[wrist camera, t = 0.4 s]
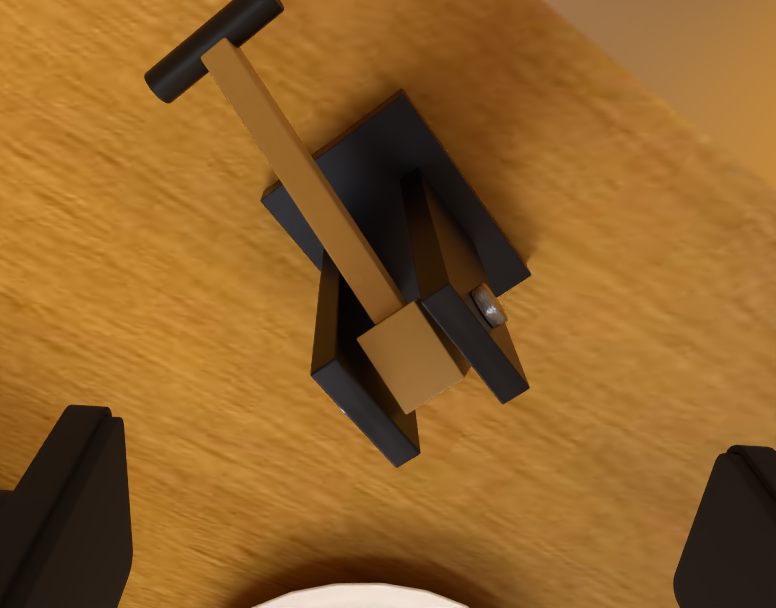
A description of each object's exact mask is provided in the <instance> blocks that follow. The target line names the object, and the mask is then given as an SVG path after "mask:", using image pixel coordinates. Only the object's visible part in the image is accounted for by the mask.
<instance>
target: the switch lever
mask: <svg viewBox="0 0 776 608" xmlns="http://www.w3.org/2000/svg"><path fill="white" fill-rule="evenodd" d="M283 11H284V7H283V4H282V3H281V1H280V0H232V1H231V2H230V3H229V4H228V5H226V6H225V7H224V8H223V9H222V10H220V11H219V12H218V13H217V14H216V15H214V16H213V17H212V18H211V19H210V20H208V21H207V22H206V23H205V24H204V25H202V26H201V27H200V28H199V29H198V30H196V31H195V32H194V33H193V34H192V35H190V36H189V37H188V38H187V39H186V40H185V41H183V42H182V43H181V44H180V45H179V46H177V47H176V48H175V49H174V50H173V51H171V52H170V53H169V54H168V55H167V56H165V57H164V58H163V59H162V60H161V61H159V62H158V63H157V64H156V65H155V66H153V67H152V68H151V69H150V70H149V71H147V72H146V73H145V75H144V78H145V81H146V83H147V84H148V86H149V88H150V89H151V90H152V92H153V93H154V94H155V95H156V96H157V97H158V98H159V99H161V100H162V101H163V102H165V103H171V102H173V101H174V100H175V99H176V98H178V97H179V96H180V95H181V94H182V93H184V92H185V91H186V90H187V89H189V88H190V87H191V86H192V85H194V84H195V83H196V82H197V81H198V80H200V79H201V78H202V77H203V76H205V75H206V74H207V73H208V72H210V74H211V75H212V77H213V78H214V80H215V82H216V83H217V85H218V86H219V88H220V89H221V91H222V92H223V94H224V95H225V97H226V98H227V100H228V101H229V103H230V104H231V106H232V107H233V109H234V111H235V112H236V114H237V115H238V117H239V118H240V120H241V121H242V123H243V124H244V126H245V127H246V129H247V130H248V132H249V133H250V135H251V136H252V138H253V140H254V141H255V143H256V144H257V146H258V147H259V149H260V150H261V152H262V153H263V155H264V156H265V158H266V159H267V161H268V162H269V164H270V165H271V167H272V169H273V170H274V172H275V173H276V175H277V176H278V178H279V179H280V181H281V182H282V184H283V185H284V187H285V188H286V190H287V191H288V193H289V194H290V196H291V198H292V199H293V201H294V202H295V204H296V205H297V207H298V208H299V210H300V211H301V213H302V214H303V216H304V217H305V219H306V220H307V222H308V223H309V225H310V227H311V228H312V230H313V231H314V233H315V234H316V236H317V237H318V239H319V240H320V242H321V243H322V245H323V246H324V248H325V249H326V251H327V252H328V254H329V256H330V257H331V259H332V260H333V262H334V263H335V265H336V266H337V268H338V269H339V271H340V272H341V274H342V275H343V277H344V278H345V280H346V281H347V283H348V285H349V286H350V288H351V289H352V291H353V292H354V294H355V295H356V297H357V298H358V300H359V301H360V303H361V304H362V306H363V307H364V309H365V310H366V312H367V314H368V315H369V317H370V318H371V320H372V321H373V323H374V324H375V325H376V326H375V327H373V328H372V329H370V330H369V331H367V332H366V333H364V334H363V335H361V336H359V337H358V338H357V341H358V342H359V344H360V345H361V347H362V349H363V350H364V352H365V353H366V355H367V356H368V358H369V359H370V361H371V362H372V364H373V365H374V367H375V368H376V370H377V372H378V373H379V375H380V376H381V378H382V379H383V381H384V382H385V384H386V385H387V387H388V388H389V390H390V391H391V393H392V394H393V396H394V398H395V399H396V401H397V402H398V404H399V405H400V407H401V408H402V410H403V411H404V413H405V414H408V413H410V412H412V411H413V410H415V409H416V408H418V407H420V406H421V405H423V404H424V403H426V402H428V401H429V400H431V399H432V398H434V397H436V396H437V395H439V394H441V393H442V392H444V391H445V390H447V389H449V388H450V387H452V386H453V385H455V384H457V383H458V382H460V381H462V380H463V379H464V378H465V377H466V375H467V373H468V371H469V369H470V368H471V365H470V363H469V362H468V361H467V360H466V358H465V357H464V356H463V355H462V353H461V352H460V351H459V350H458V348H457V347H456V346H455V345H454V343H453V342H452V341H451V340H450V338H449V337H448V336H447V335H446V333H445V332H444V331H443V330H442V328H441V327H440V326H439V325H438V323H437V322H436V321H435V320H434V318H433V317H432V316H431V315H430V313H429V312H428V311H427V310H426V308H425V307H424V306H423V305H422V303H421V300H420V298H418V299H416V300H414V301H412V302H411V303H409V304H408V302H407V301H406V299H405V298H404V296H403V295H402V293H401V292H400V290H399V289H398V287H397V286H396V284H395V283H394V281H393V280H392V278H391V276H390V275H389V273H388V272H387V270H386V269H385V267H384V266H383V264H382V263H381V261H380V260H379V258H378V257H377V255H376V254H375V252H374V251H373V249H372V248H371V246H370V245H369V243H368V242H367V240H366V238H365V237H364V235H363V234H362V232H361V231H360V229H359V228H358V226H357V225H356V223H355V222H354V220H353V219H352V217H351V216H350V214H349V213H348V211H347V210H346V208H345V207H344V205H343V203H342V202H341V200H340V199H339V197H338V196H337V194H336V193H335V191H334V190H333V188H332V187H331V185H330V184H329V182H328V181H327V179H326V178H325V176H324V175H323V173H322V172H321V170H320V169H319V167H318V165H317V164H316V162H315V161H314V159H313V158H312V156H311V155H310V153H309V152H308V150H307V149H306V147H305V146H304V144H303V143H302V141H301V140H300V138H299V137H298V135H297V134H296V132H295V131H294V129H293V127H292V126H291V124H290V123H289V121H288V120H287V118H286V117H285V115H284V114H283V112H282V111H281V109H280V108H279V106H278V105H277V103H276V102H275V100H274V99H273V97H272V96H271V94H270V92H269V91H268V89H267V88H266V86H265V85H264V83H263V82H262V80H261V79H260V77H259V76H258V74H257V73H256V71H255V70H254V68H253V67H252V65H251V64H250V62H249V61H248V59H247V58H246V56H245V54H244V53H243V51H242V50H241V48H240V46H241V45H243V44H244V43H245V42H246V41H247V40H249V39H250V38H251V37H252V36H254V35H255V34H256V33H257V32H259V31H260V30H261V29H262V28H263V27H265V26H266V25H267V24H268V23H270V22H271V21H272V20H273V19H274V18H276V17H277V16H278V15H279V14H281V13H282V12H283Z"/></svg>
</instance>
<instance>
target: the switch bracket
mask: <svg viewBox="0 0 776 608" xmlns="http://www.w3.org/2000/svg"><path fill="white" fill-rule="evenodd" d="M312 158H313V159H314V161H315V162H316V164H317V165H318V167H319V169H320V170H321V172H322V173H323V175H324V176H325V178H326V179H327V181H328V182H329V184H330V185H331V187H332V188H333V190H334V191H335V193H336V194H337V196H338V197H339V199H340V200H341V202H342V203H343V205H344V207H345V208H346V210H347V211H348V213H349V214H350V216H351V217H352V219H353V220H354V222H355V223H356V225H357V226H358V228H359V229H360V231H361V232H362V234H363V235H364V237H365V238H366V240H367V242H368V243H369V245H370V246H371V248H372V249H373V251H374V252H375V254H376V255H377V257H378V258H379V260H380V261H381V263H382V264H383V266H384V267H385V269H386V270H387V272H388V273H389V275H390V276H391V278H392V280H393V281H394V283H395V284H396V286H397V287H398V289H399V290H400V292H401V293H402V295H403V296H404V298H405V299H406V301H407V302H408V304H409V303H411V302H412V301H414V300H416V299H418V298H420V300H421V303H422V305H423V306H424V307H425V308H426V310H427V311H428V312H429V313H430V315H431V316H432V317H433V318H434V320H435V321H436V322H437V323H438V325H439V326H440V327H441V328H442V330H443V331H444V332H445V333H446V335H447V336H448V337H449V338H450V340H451V341H452V342H453V343H454V345H455V346H456V347H457V348H458V350H459V351H460V352H461V353H462V355H463V356H464V357H465V358H466V360H467V361H468V362H469V363H470V365H471V366H472V367H473V368H474V370H475V371H476V372H477V373H478V375H479V376H480V377H481V379H482V380H483V381H484V382H485V384H486V385H487V386H488V387H489V389H490V390H491V391H492V392H493V394H494V395H495V396H496V397H497V399H498V400H499V401H500V402H501V404H505V403H506V402H508V401H510V400H511V399H513V398H515V397H516V396H518V395H520V394H521V393H523V392H525V391H526V390H528V389H529V388H530V387H529V384H528V382H527V379H526V377H525V374H524V371H523V369H522V366H521V364H520V361H519V358H518V356H517V353H516V351H515V348H514V345H513V343H512V340H511V337H510V335H509V332H508V330H507V327H506V324H505V322H506V321H507V320H508V319H507V315H506V313H505V311H504V309H503V308H502V306H501V304H500V303H499V301H498V300H497V297H498V296H500V295H502V294H503V293H505V292H506V291H508V290H509V289H511V288H512V287H514V286H516V285H517V284H519V283H520V282H522V281H523V280H525V279H526V278H528V277H530V276H531V273H530V271H529V269H528V267H527V265H526V264H525V262H524V261H523V259H522V258H521V257H520V255H519V254H518V252H517V251H516V249H515V248H514V247H513V245H512V244H511V242H510V241H509V240H508V238H507V237H506V235H505V234H504V232H503V231H502V230H501V228H500V227H499V225H498V224H497V222H496V221H495V220H494V218H493V217H492V215H491V214H490V212H489V211H488V210H487V208H486V207H485V205H484V204H483V203H482V201H481V200H480V198H479V197H478V195H477V194H476V193H475V191H474V190H473V188H472V187H471V185H470V184H469V183H468V181H467V180H466V178H465V177H464V175H463V174H462V173H461V171H460V170H459V168H458V167H457V166H456V164H455V163H454V161H453V160H452V158H451V157H450V156H449V154H448V153H447V151H446V150H445V148H444V147H443V146H442V144H441V143H440V141H439V140H438V138H437V137H436V136H435V134H434V133H433V131H432V130H431V128H430V127H429V126H428V124H427V123H426V121H425V120H424V119H423V117H422V116H421V114H420V113H419V111H418V110H417V109H416V107H415V106H414V104H413V103H412V101H411V100H410V99H409V97H408V96H407V94H406V93H405V91H404V90H403V89H400V90H399V91H398V92H396V93H395V94H394V95H392V96H391V97H390V98H388V99H387V100H386V101H384V102H383V103H382V104H380V105H379V106H378V107H376V108H375V109H374V110H372V111H371V112H370V113H368V114H367V115H366V116H364V117H363V118H362V119H360V120H359V121H358V122H356V123H355V124H354V125H352V126H351V127H350V128H348V129H347V130H346V131H344V132H343V133H342V134H340V135H339V136H338V137H336V138H335V139H334V140H332V141H331V142H330V143H328V144H327V145H326V146H324V147H323V148H321V149H320V150H319V151H317V152H316V153H315V154H313V155H312ZM261 202H262V203H263V204H264V206H265V207H266V208H267V209H268V210H269V211H270V213H271V214H272V215H273V216H274V217H275V219H276V220H277V221H278V222H279V223H280V224H281V226H282V227H283V228H284V229H285V230H286V231H287V233H288V234H289V235H290V236H291V237H292V239H293V240H294V241H295V242H296V243H297V244H298V246H299V247H300V248H301V249H302V250H303V251H304V253H305V254H306V255H307V256H308V257H309V258H310V260H311V261H312V262H313V263H314V264H315V266H316V267H317V268H318V269H319V270H320V271H321V277H320V286H319V296H318V306H317V315H316V325H315V335H314V344H313V354H312V364H311V373H310V374H311V377H312V378H313V379H314V380H315V381H316V382H317V383H318V384H319V385H320V386H321V388H322V389H323V390H324V391H325V392H326V393H327V394H328V395H329V396H330V397H331V398H332V399H333V400H334V402H335V403H336V404H337V405H338V407H339V408H340V409H341V411H342V412H343V413H344V414H345V415H347V416H348V417H349V418H350V419H351V420H352V421H353V422H354V423H355V424H356V425H357V426H358V427H359V429H360V430H361V431H362V432H363V433H364V434H365V435H366V436H367V437H368V438H369V439H370V440H371V442H372V443H373V444H374V445H375V446H376V447H377V448H378V449H379V450H380V451H381V452H382V453H383V454H384V456H385V457H386V458H387V459H388V460H389V461H390V462H391V463H392V464H393V465H394V466H395V467H396V468H397V467H399V466H401V465H402V464H404V463H406V462H407V461H409V460H411V459H412V458H414V457H416V456H417V455H419V454H420V444H419V436H418V428H417V420H416V412H415V410H413V411H412V412H410V413H408V414H405V413H404V411H403V410H402V408H401V407H400V405H399V404H398V402H397V401H396V399H395V398H394V396H393V394H392V393H391V391H390V390H389V388H388V387H387V385H386V384H385V382H384V381H383V379H382V378H381V376H380V375H379V373H378V372H377V370H376V368H375V367H374V365H373V364H372V362H371V361H370V359H369V358H368V356H367V355H366V353H365V352H364V350H363V349H362V347H361V345H360V344H359V342H358V341H357V338H358V337H359V336H361V335H363V334H364V333H366V332H367V331H369V330H370V329H372V328H373V327H375V326H376V325H375V324H374V323H373V321H372V320H371V318H370V317H369V315H368V314H367V312H366V310H365V309H364V307H363V306H362V304H361V303H360V301H359V300H358V298H357V297H356V295H355V294H354V292H353V291H352V289H351V288H350V286H349V285H348V283H347V281H346V280H345V278H344V277H343V275H342V274H341V272H340V271H339V269H338V268H337V266H336V265H335V263H334V262H333V260H332V259H331V257H330V256H329V254H328V252H327V251H326V249H325V248H324V246H323V245H322V243H321V242H320V240H319V239H318V237H317V236H316V234H315V233H314V231H313V230H312V228H311V227H310V225H309V223H308V222H307V220H306V219H305V217H304V216H303V214H302V213H301V211H300V210H299V208H298V207H297V205H296V204H295V202H294V201H293V199H292V198H291V196H290V194H289V193H288V191H287V190H286V188H285V187H284V185H283V184H282V182H281V181H280V180H279V181H277V182H276V183H275V184H273V185H272V186H271V187H269V188H268V189H267V190H265V191H264V192H263V195H262V198H261Z"/></svg>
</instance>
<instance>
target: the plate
mask: <svg viewBox="0 0 776 608" xmlns="http://www.w3.org/2000/svg"><path fill="white" fill-rule="evenodd" d="M251 608H469V607H468V606H466V605H464V604H462V603H459V602H456V601H454V600H451V599H448V598H446V597H443V596H441V595H438V594H435V593H433V592H430V591H427V590H422V589H416V588H410V587H404V586H398V585H392V584H386V583H335V584H330V585H324V586H319V587H314V588H308V589H303V590H298V591H292V592H289V593H287V594H284V595H282V596H279V597H277V598H274V599H272V600H269V601H267V602H264V603H261V604H259V605H256V606H254V607H251Z"/></svg>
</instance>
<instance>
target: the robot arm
mask: <svg viewBox="0 0 776 608" xmlns="http://www.w3.org/2000/svg"><path fill="white" fill-rule="evenodd" d="M132 556H133V546H132V532H131V518H130V504H129V490H128V476H127V461H126V447H125V433H124V423H123V419H122V418H121V417H112V413H111V410H110V408H108V407H101V406H85V405H69V406H67V408H66V409H65V410H64V412H63V413H62V415H61V416H60V418H59V420H58V421H57V423H56V424H55V426H54V428H53V429H52V431H51V432H50V434H49V436H48V437H47V439H46V440H45V442H44V443H43V445H42V447H41V448H40V450H39V451H38V453H37V455H36V456H35V458H34V459H33V461H32V462H31V464H30V466H29V467H28V469H27V470H26V472H25V474H24V475H23V477H22V478H21V480H20V481H19V483H18V485H17V486H16V488H15V489H14V491H10V490H0V608H117V607H118V604H119V601H120V599H121V596H122V593H123V590H124V588H125V585H126V582H127V579H128V577H129V573H130V569H131V564H132ZM673 586H674V593H675V597H676V600H677V602H678V604H679V606H680V608H776V451H775V450H774V449H773V448H770V447H762V446H745V445H734V446H731V447H730V448H729V449H728V450H727V452H726V453H723V454H720V455H719V456H718V457H717V459H716V461H715V464H714V466H713V469H712V472H711V475H710V477H709V480H708V483H707V486H706V489H705V491H704V494H703V497H702V500H701V503H700V505H699V508H698V511H697V514H696V516H695V519H694V522H693V525H692V528H691V530H690V533H689V536H688V539H687V541H686V544H685V547H684V550H683V553H682V555H681V558H680V561H679V564H678V567H677V569H676V572H675V575H674V582H673Z"/></svg>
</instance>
